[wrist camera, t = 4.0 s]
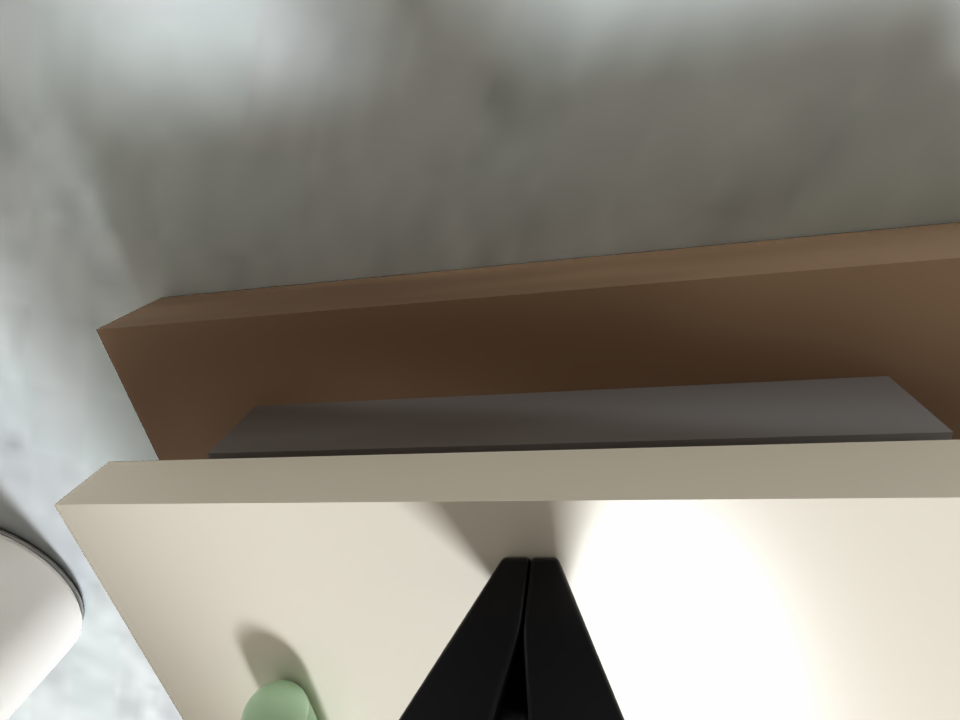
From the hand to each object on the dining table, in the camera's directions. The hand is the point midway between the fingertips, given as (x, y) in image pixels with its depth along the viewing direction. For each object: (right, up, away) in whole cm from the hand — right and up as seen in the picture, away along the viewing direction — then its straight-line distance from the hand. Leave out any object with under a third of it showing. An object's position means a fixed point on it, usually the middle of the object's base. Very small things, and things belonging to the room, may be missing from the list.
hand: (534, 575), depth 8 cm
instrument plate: (+1, -5, +4) cm, 6 cm away
